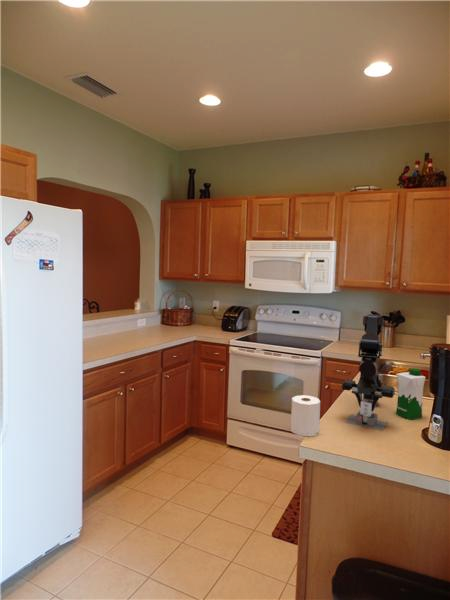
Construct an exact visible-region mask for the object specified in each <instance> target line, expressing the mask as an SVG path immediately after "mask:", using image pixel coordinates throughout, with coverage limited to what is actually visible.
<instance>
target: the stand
mask: <svg viewBox="0 0 450 600" xmlns="http://www.w3.org/2000/svg"><path fill="white" fill-rule="evenodd" d="M362 419H363V416H360V410H359V411H358V412H357V413H356V414H350V416H349V417H348V418H347V419H346V421H344V423H345V424H350V425H354V426H359V427H364V428H368V429H372V430H378V431H381V432H383V431H384V430H385V428H386V426H387V424H388V421H386V420H381V419H378V413H376V412H373V417H372V418H369V417H368V418H367V422H363V421H362Z"/></svg>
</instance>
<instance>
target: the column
mask: <svg viewBox="0 0 450 600" xmlns="http://www.w3.org/2000/svg"><path fill="white" fill-rule="evenodd" d="M372 405H373V400H368V399H363V398H362V401H361V409H360V408H359V409H360V410H359V411H360V416H363V419H362V421H363V422H367V418H368V417H369V418H372V417H373V413H374V411H372Z"/></svg>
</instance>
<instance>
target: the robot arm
mask: <svg viewBox="0 0 450 600" xmlns="http://www.w3.org/2000/svg"><path fill="white" fill-rule="evenodd" d="M384 319H385V318H384V317H383V316H380V315H378V314H373V313H372V314H371V313H368V314H366V315H365V316H363V317H362V326H363V327H364V334H363V335H362V336H361V339H360V340H359V343H358V344H359V345H358V355H357V356H358V358H361V362H360V364H359V368H358V369H359V372H360V376H359V379H358V382H356V380H351V379H345V380H344V381H343V382H342V383H341V389H342V390H344V391H348V392H349V391H351V394H354V396H355V398H356V400H357V402H358V405H359V406H358V407H359V409H361V401H362V399H368V400H373V405H372V411H373V412H374V410H375V408H377V407H378V405H379V399H383V397H384V398H388V399H392V398H394V395H395V394H396V390H395V387H394V386H388V385H383V382H382V381H381V380H382V379H381V378H380V374H379V372H378V370H377V369H378V360H380V359H381V357H382V356H383V344H382V342H381V341H380V336H379V335H380V334H381V333H382V328H384Z"/></svg>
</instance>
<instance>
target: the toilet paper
mask: <svg viewBox="0 0 450 600" xmlns="http://www.w3.org/2000/svg"><path fill="white" fill-rule="evenodd" d="M290 414H291V415H290V416H291V417H290V418H291V419H290V430H291V432H292V433H293V434H295V435H296V436H301V437H307V436H308V437H314V436H315V437H316V436H317V435H318V434H319V431H320V421H321V419H320V418H321V400H320V399H319V398H318V397H316V396H314V395H313V396H312V395H305V394H302V395H301V394H300V395H295V396H293V397H291V413H290ZM308 434H309V435H308Z"/></svg>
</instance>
